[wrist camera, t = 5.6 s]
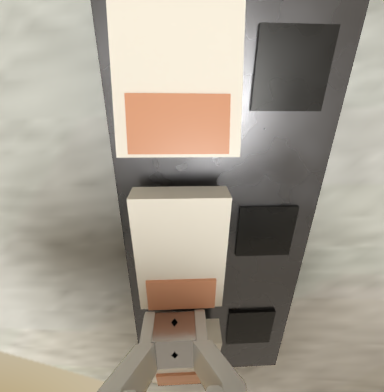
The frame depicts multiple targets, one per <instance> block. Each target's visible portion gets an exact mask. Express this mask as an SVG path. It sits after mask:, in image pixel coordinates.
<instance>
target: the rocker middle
mask: <svg viewBox="0 0 384 392" xmlns="http://www.w3.org/2000/svg"><path fill="white" fill-rule="evenodd" d="M126 200H127V208H128V215H129V223H130V231H131V238H132V246H133V253H134V261H135V269H136V276H137V284H138V291H139V299H140V307H141V309H148V310H173V309H200V308H214V307H219V306H222V300H223V290H224V279H225V269H226V258H227V248H228V237H229V227H230V216H231V205H232V196H231V194H230V192H229V190H228V188H227V186H171V187H132V189H131V191H130V193H129V195H128V197H127V199H126Z"/></svg>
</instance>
